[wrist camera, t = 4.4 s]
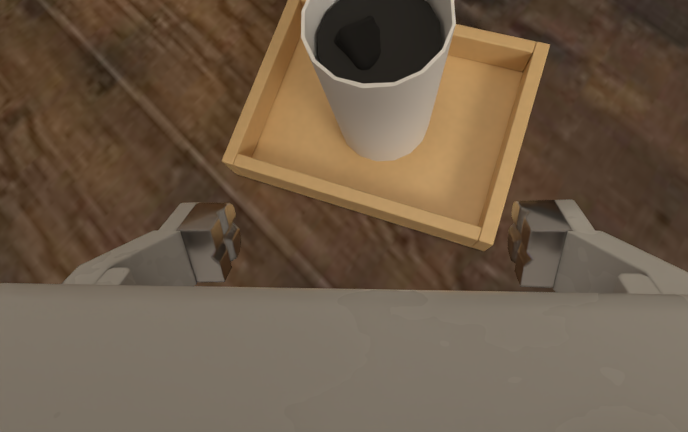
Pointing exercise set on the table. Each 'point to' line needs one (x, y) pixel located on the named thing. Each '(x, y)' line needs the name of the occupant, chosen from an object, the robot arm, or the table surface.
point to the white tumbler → (379, 67)
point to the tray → (410, 170)
